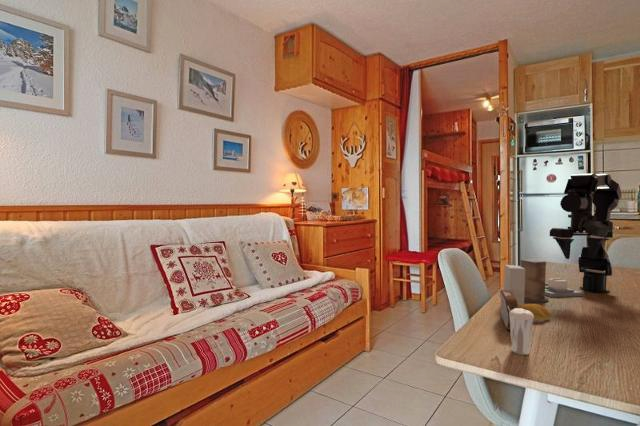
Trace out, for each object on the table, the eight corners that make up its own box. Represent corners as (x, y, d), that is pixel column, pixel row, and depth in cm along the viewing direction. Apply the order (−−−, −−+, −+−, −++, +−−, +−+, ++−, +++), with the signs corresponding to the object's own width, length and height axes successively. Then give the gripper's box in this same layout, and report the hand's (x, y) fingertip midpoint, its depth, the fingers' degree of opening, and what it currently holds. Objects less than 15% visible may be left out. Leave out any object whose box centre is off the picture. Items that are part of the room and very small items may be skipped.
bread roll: (554, 319, 100) (554, 304, 100) (538, 325, 95) (539, 310, 95) (523, 311, 107) (523, 297, 107) (507, 316, 102) (507, 302, 102)
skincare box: (524, 308, 109) (525, 268, 109) (509, 307, 110) (510, 268, 110) (517, 303, 115) (519, 265, 115) (503, 302, 116) (504, 264, 115)
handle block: (530, 294, 123) (531, 259, 123) (544, 298, 119) (546, 261, 118) (519, 295, 121) (520, 259, 121) (533, 299, 117) (535, 262, 116)
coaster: (534, 295, 125) (534, 293, 125) (555, 302, 116) (555, 300, 116) (510, 295, 124) (510, 294, 124) (529, 303, 115) (529, 301, 115)
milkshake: (500, 348, 80) (501, 302, 79) (523, 347, 80) (524, 302, 80) (512, 357, 75) (514, 309, 75) (537, 356, 76) (539, 308, 75)
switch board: (557, 288, 135) (557, 282, 135) (582, 296, 124) (582, 290, 124) (527, 289, 133) (527, 283, 133) (550, 297, 123) (550, 291, 123)
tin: (520, 336, 87) (521, 301, 87) (505, 334, 88) (506, 299, 88) (510, 317, 101) (511, 286, 101) (498, 315, 102) (499, 285, 102)
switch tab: (557, 288, 130) (558, 276, 130) (567, 290, 126) (567, 279, 126) (547, 288, 129) (548, 277, 129) (556, 291, 125) (556, 279, 125)
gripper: (576, 212, 112) (574, 263, 113) (630, 213, 115) (627, 262, 115) (549, 211, 123) (547, 257, 124) (598, 211, 126) (596, 257, 126)
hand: (579, 258), depth 122 cm, fingers open, 9 cm apart
